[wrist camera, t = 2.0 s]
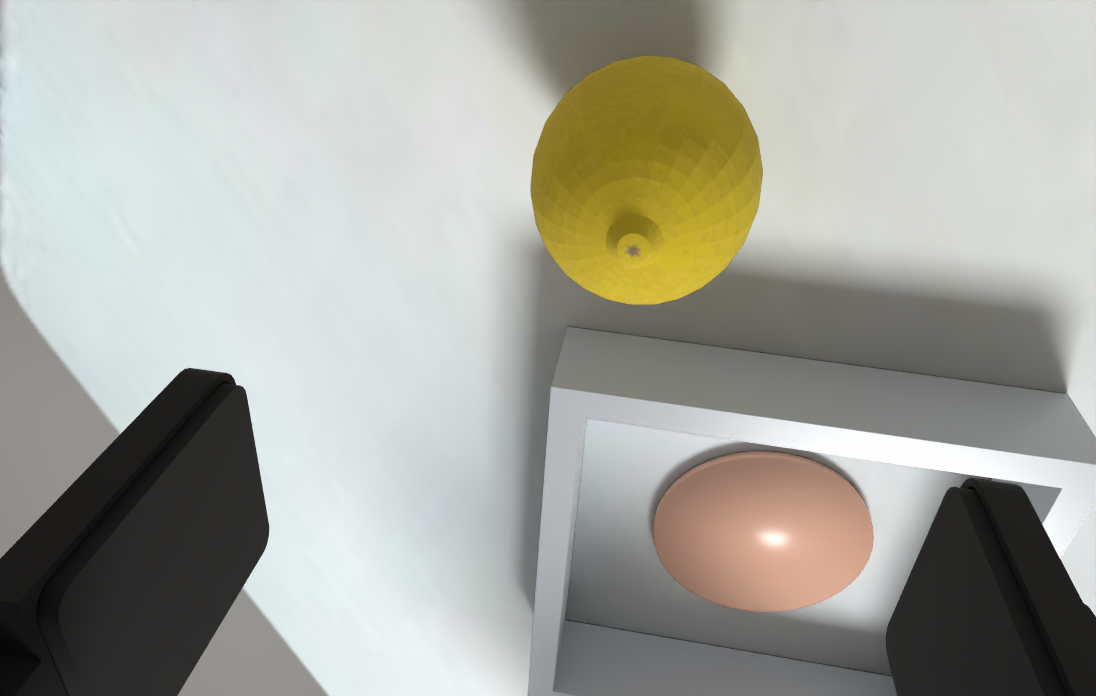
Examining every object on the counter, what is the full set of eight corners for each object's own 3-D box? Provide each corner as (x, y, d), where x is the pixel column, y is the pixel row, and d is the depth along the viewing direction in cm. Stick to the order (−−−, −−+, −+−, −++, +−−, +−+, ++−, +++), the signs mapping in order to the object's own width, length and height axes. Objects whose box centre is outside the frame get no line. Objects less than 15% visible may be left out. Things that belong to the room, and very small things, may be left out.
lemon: (522, 145, 24) (452, 268, 17) (637, -19, 21) (605, 53, 14) (668, 251, 25) (655, 405, 18) (796, 108, 22) (836, 230, 16)
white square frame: (567, 326, 27) (551, 387, 24) (1067, 394, 25) (1114, 467, 23) (541, 630, 36) (527, 701, 33) (912, 695, 34) (931, 775, 31)
